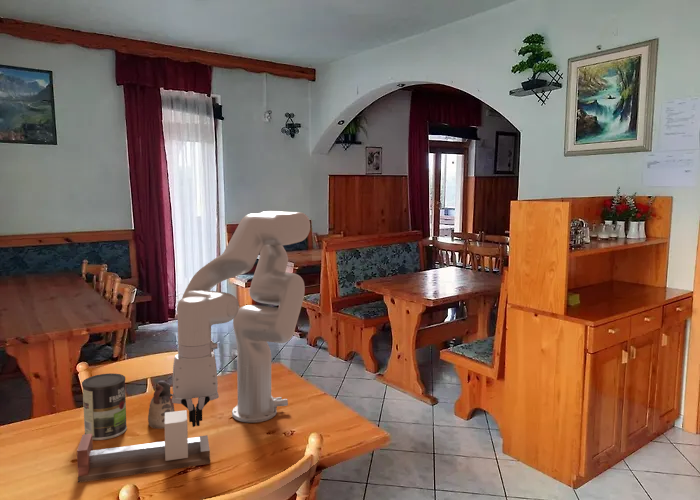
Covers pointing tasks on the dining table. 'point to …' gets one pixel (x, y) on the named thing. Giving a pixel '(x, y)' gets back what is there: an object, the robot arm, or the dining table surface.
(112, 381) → the coffee can
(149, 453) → the beam
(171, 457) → the block
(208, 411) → the dining table surface
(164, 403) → the figurine
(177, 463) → the board
